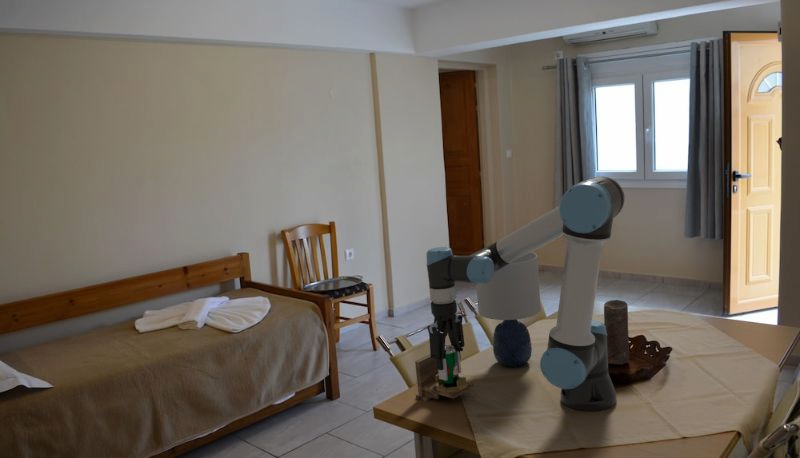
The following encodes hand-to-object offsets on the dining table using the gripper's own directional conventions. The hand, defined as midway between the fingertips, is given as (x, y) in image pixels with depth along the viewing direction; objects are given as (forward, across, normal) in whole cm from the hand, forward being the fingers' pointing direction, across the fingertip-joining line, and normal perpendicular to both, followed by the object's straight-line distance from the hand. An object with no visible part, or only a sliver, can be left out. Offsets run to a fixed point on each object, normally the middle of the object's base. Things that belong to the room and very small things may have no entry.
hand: (450, 375), depth 192 cm
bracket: (+7, 0, -2) cm, 8 cm away
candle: (+8, -48, +29) cm, 57 cm away
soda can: (+4, 0, 0) cm, 4 cm away
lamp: (+8, -32, 0) cm, 33 cm away
